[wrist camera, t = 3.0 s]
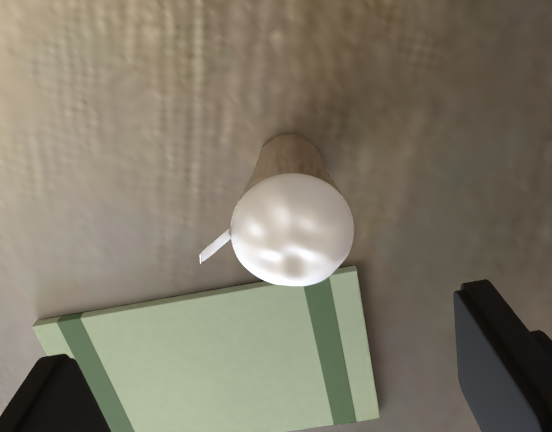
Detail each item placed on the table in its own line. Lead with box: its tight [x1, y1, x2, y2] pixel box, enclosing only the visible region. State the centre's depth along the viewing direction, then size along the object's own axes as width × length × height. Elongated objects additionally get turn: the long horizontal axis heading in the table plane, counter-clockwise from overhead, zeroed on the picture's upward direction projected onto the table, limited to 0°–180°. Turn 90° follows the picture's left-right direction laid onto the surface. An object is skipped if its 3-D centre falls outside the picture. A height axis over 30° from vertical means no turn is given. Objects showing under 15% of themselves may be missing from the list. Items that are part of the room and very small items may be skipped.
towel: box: [32, 266, 380, 432], centre depth 30 cm, size 12×20×1 cm, turn 102°
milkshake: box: [200, 134, 354, 286], centre depth 20 cm, size 4×5×10 cm
